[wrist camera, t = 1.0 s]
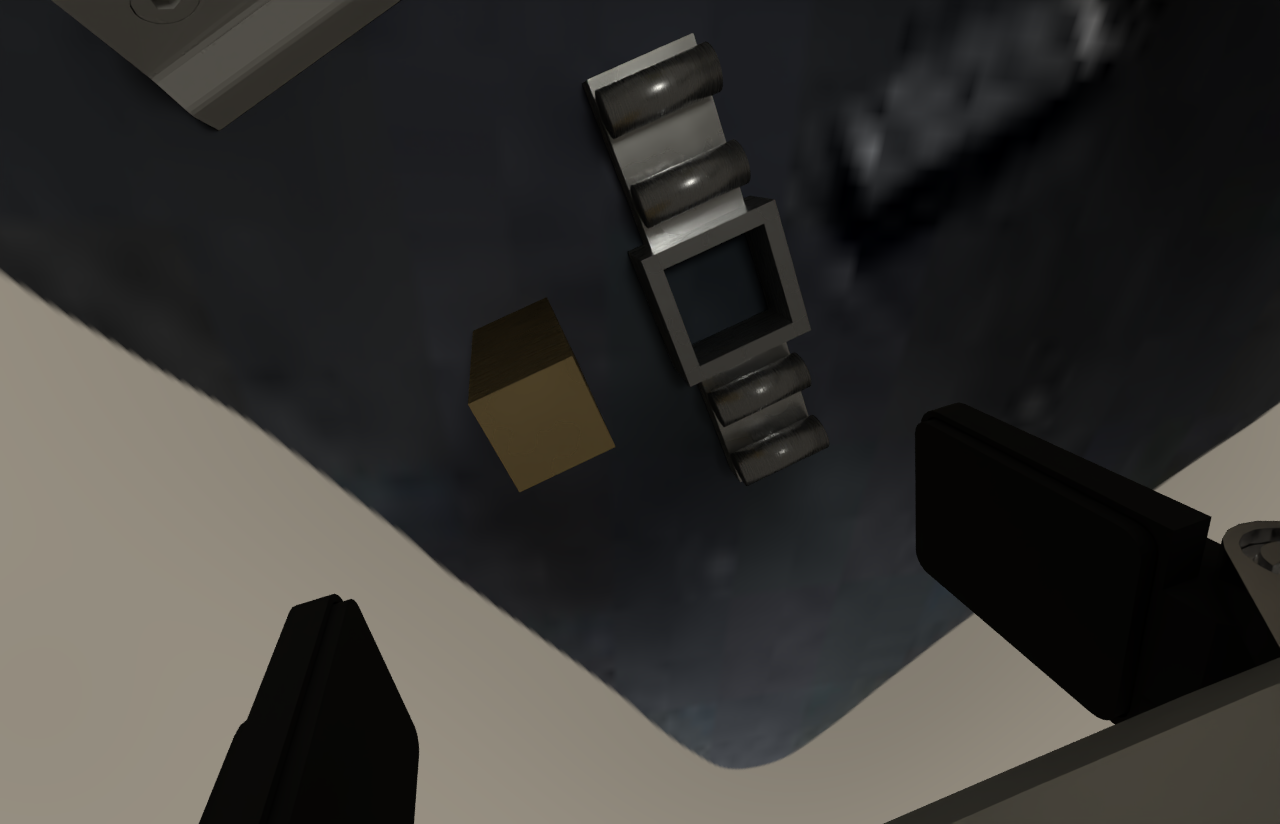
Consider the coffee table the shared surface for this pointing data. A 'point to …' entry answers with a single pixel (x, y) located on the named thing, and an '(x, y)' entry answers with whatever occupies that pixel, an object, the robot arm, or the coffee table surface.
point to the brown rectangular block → (533, 396)
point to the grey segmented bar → (696, 221)
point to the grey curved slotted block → (223, 44)
